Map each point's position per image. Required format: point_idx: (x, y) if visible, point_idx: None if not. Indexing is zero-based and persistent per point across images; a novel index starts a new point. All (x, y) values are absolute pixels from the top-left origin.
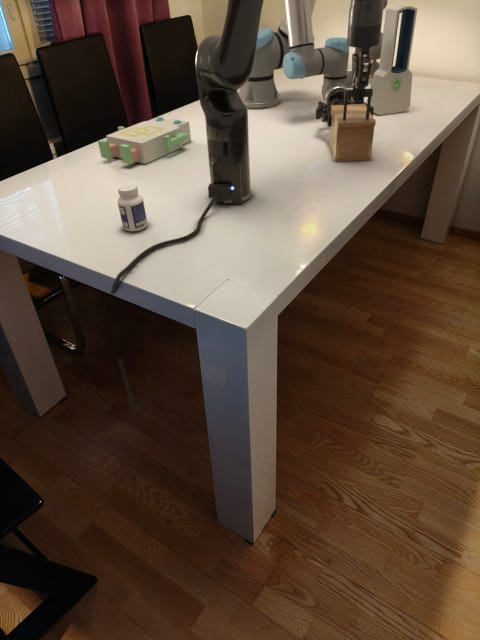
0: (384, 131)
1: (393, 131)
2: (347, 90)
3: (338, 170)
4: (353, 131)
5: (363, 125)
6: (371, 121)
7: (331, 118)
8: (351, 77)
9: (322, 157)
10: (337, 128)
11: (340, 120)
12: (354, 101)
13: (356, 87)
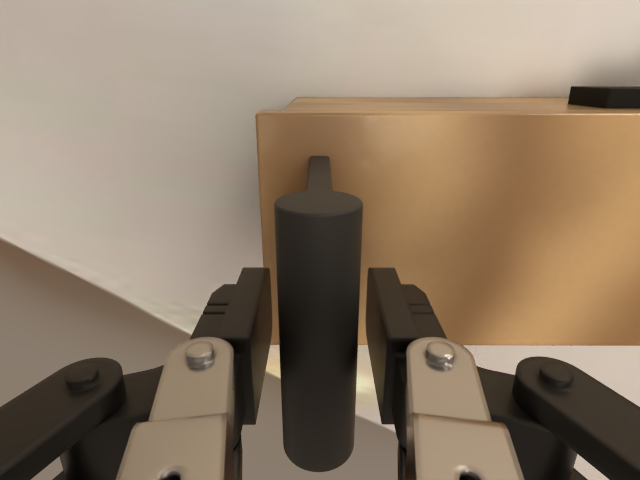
0: (634, 359)
1: (619, 389)
2: (299, 243)
3: (183, 99)
4: None
5: None
6: None
7: (598, 107)
8: (556, 365)
9: (360, 39)
10: (285, 109)
11: (307, 135)
12: (251, 271)
13: (183, 349)
